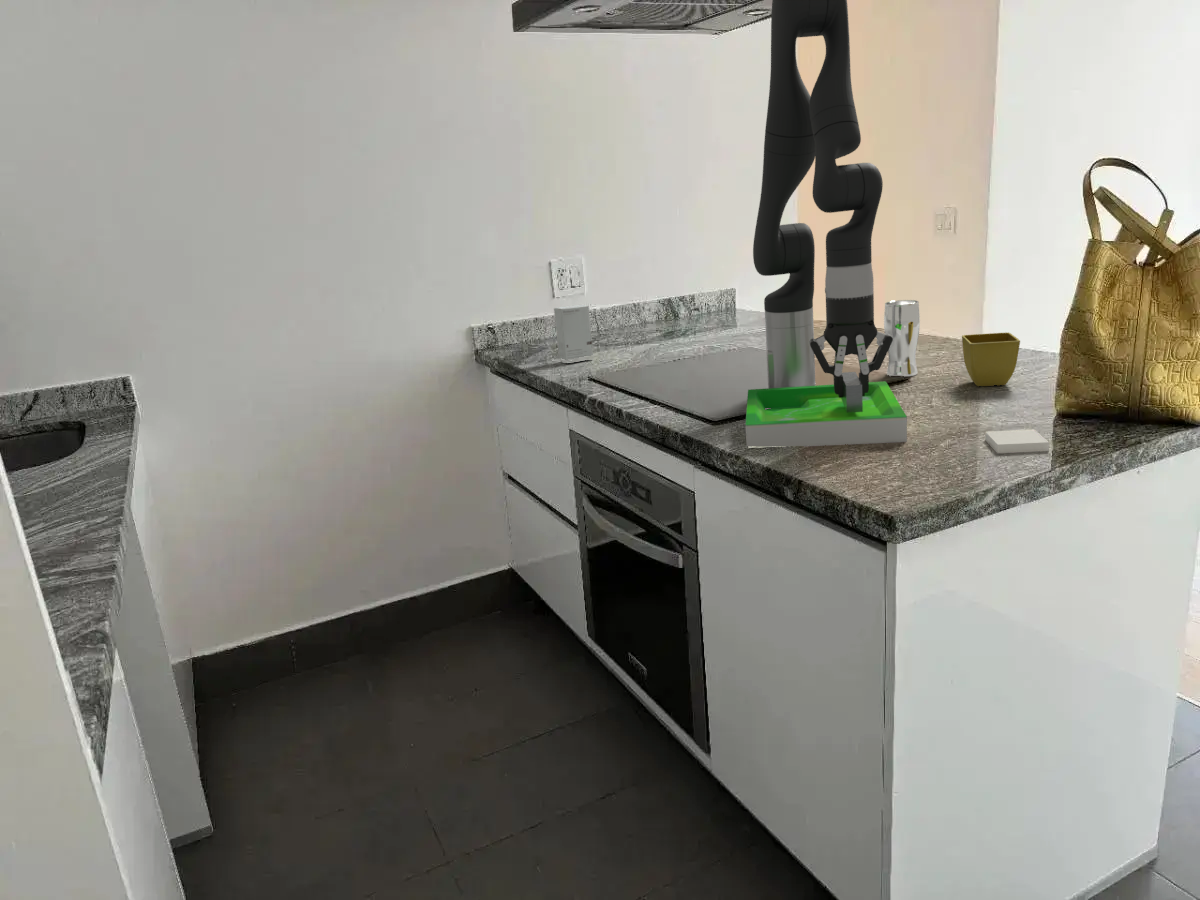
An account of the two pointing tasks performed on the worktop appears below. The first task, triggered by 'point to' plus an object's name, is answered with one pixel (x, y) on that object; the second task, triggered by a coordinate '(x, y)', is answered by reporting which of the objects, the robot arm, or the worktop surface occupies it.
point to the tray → (822, 417)
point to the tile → (1016, 441)
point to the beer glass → (902, 336)
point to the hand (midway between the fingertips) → (851, 395)
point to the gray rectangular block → (852, 392)
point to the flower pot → (990, 357)
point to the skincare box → (573, 331)
